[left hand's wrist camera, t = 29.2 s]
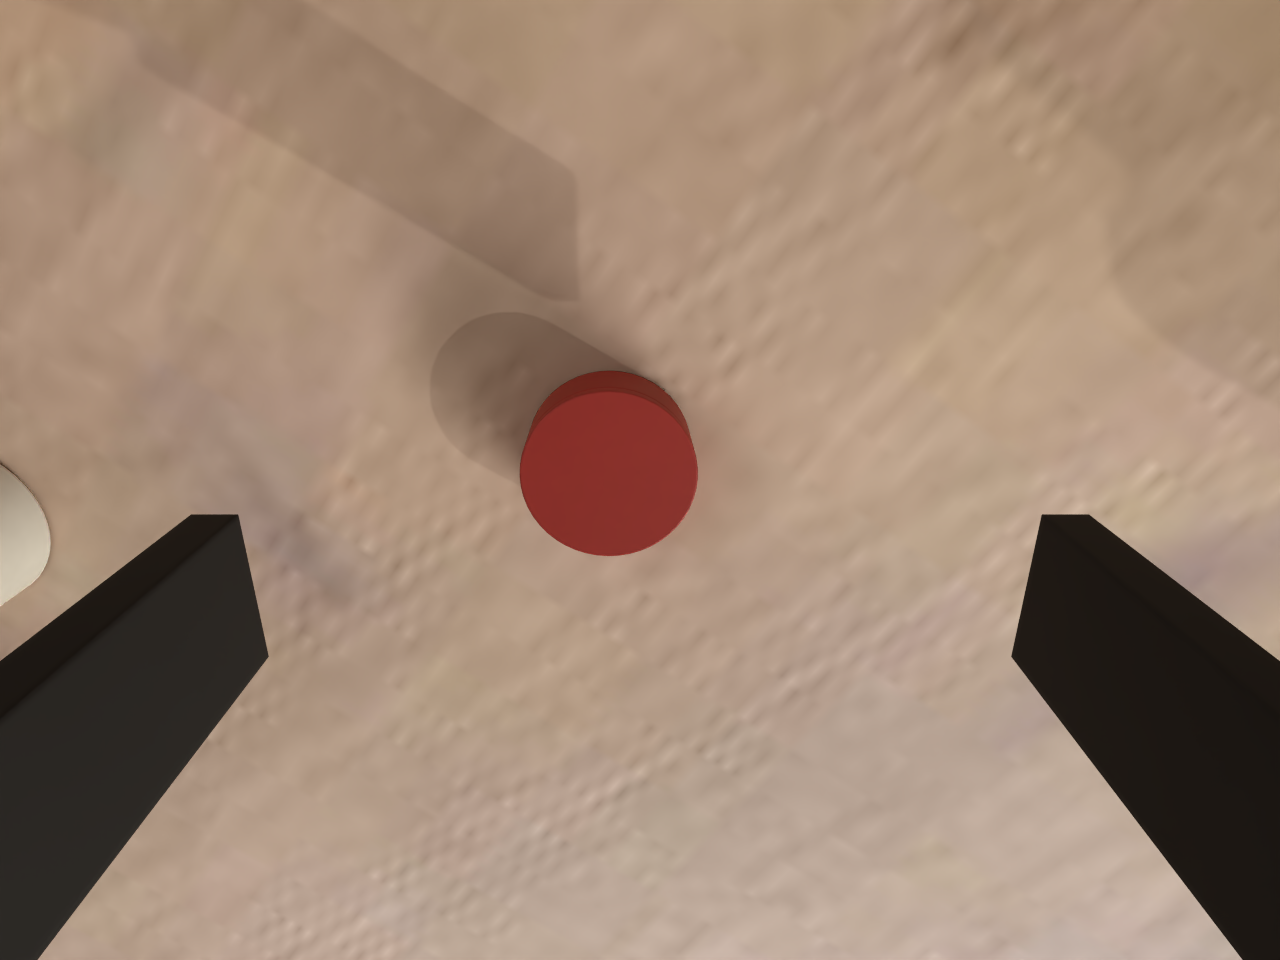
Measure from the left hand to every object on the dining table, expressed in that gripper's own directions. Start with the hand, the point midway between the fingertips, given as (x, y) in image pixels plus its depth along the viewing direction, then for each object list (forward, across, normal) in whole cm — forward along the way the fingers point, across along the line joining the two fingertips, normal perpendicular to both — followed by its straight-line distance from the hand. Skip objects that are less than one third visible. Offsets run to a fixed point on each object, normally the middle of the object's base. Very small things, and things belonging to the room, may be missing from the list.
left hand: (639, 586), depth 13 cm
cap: (+5, +1, 0) cm, 5 cm away
